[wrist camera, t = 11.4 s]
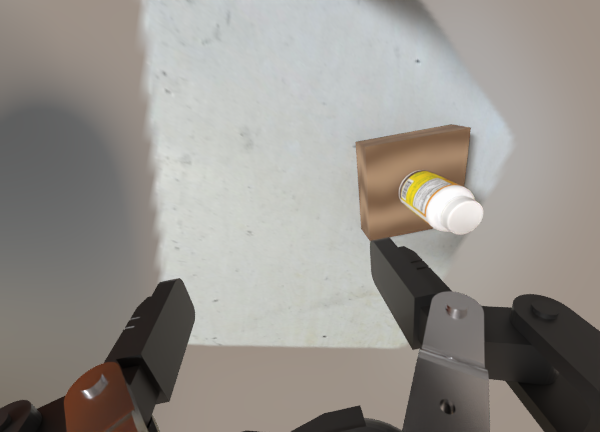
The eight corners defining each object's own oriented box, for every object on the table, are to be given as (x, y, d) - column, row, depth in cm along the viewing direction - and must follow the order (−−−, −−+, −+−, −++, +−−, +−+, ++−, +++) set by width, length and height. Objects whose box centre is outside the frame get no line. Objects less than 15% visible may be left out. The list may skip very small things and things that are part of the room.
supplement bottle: (438, 196, 38) (494, 228, 29) (402, 212, 39) (445, 249, 29) (430, 161, 36) (488, 184, 27) (392, 179, 36) (435, 207, 27)
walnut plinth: (355, 142, 38) (365, 147, 34) (451, 124, 38) (470, 127, 35) (361, 228, 44) (370, 241, 40) (444, 212, 44) (459, 223, 41)
